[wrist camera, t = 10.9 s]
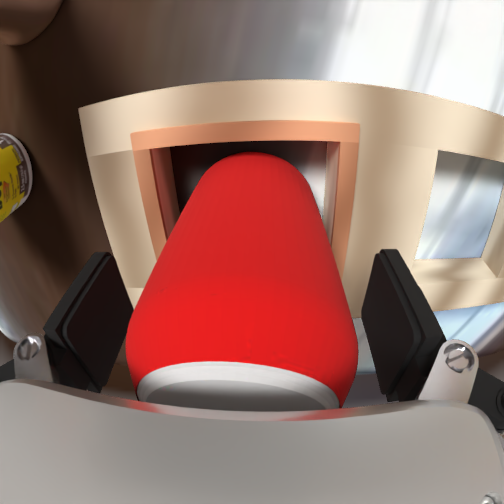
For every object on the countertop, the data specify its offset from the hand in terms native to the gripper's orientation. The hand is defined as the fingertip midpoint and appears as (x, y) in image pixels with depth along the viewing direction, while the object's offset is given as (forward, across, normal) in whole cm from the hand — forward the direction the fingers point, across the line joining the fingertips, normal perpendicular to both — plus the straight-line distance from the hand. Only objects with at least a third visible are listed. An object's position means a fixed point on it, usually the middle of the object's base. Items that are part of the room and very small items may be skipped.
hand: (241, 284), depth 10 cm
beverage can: (+7, 0, 0) cm, 7 cm away
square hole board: (+7, -6, 0) cm, 9 cm away
